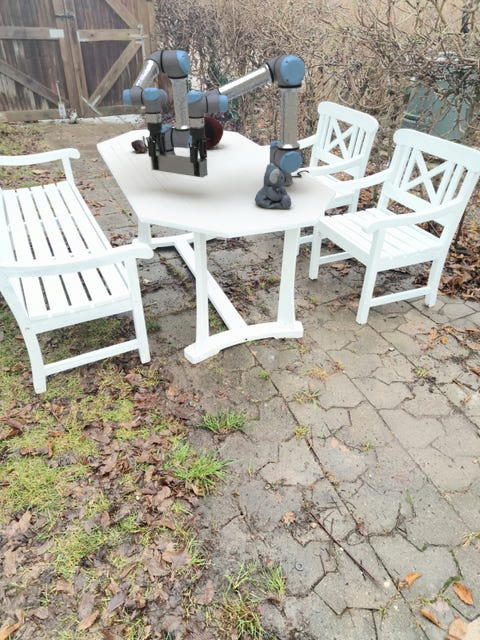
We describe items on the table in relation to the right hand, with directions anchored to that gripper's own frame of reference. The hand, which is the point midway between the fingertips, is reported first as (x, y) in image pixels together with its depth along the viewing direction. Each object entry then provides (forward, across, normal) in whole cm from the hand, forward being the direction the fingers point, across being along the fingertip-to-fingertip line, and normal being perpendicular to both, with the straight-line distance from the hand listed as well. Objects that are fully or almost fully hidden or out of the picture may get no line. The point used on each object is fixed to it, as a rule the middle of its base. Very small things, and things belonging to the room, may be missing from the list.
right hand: (199, 174), depth 233 cm
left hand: (0, 0, +26) cm, 26 cm away
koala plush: (+12, +7, -38) cm, 41 cm away
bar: (+1, 0, +13) cm, 13 cm away
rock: (+12, +61, +89) cm, 109 cm away
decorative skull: (+12, +95, +53) cm, 110 cm away
